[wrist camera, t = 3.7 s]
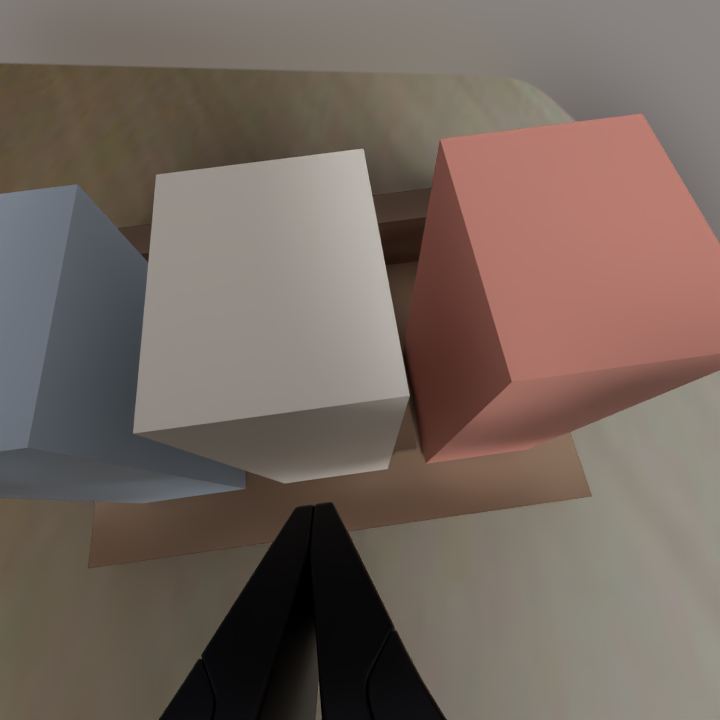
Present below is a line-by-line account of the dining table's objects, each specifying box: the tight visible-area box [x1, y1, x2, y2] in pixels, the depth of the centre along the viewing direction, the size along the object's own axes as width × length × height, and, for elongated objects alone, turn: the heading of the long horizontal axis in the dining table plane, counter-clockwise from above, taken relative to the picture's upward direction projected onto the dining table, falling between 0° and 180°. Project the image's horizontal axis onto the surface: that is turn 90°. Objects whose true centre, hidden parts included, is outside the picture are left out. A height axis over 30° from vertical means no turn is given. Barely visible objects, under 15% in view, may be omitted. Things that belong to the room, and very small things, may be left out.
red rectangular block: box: [404, 114, 720, 464], centre depth 11 cm, size 5×4×10 cm
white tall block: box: [133, 149, 410, 483], centre depth 11 cm, size 5×4×10 cm
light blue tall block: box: [0, 184, 246, 503], centre depth 11 cm, size 5×4×10 cm
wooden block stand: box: [88, 188, 592, 568], centre depth 16 cm, size 13×19×4 cm
